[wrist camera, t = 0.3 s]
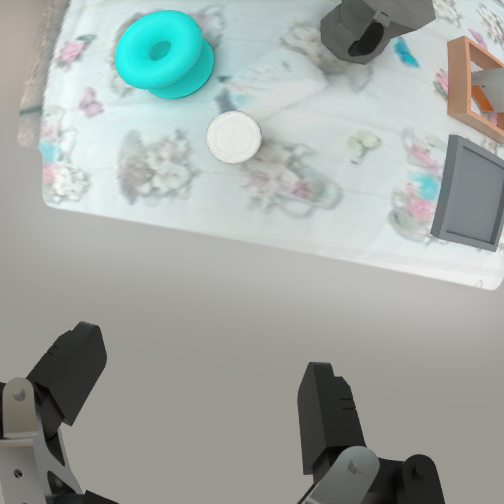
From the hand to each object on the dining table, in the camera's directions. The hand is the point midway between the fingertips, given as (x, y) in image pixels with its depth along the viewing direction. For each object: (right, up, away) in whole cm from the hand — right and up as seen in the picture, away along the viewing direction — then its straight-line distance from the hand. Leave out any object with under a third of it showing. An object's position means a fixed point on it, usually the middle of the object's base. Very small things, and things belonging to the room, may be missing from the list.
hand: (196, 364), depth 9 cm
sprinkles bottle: (+1, +18, +24) cm, 30 cm away
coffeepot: (+15, +32, +18) cm, 40 cm away
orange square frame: (+39, +30, +17) cm, 52 cm away
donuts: (-8, +29, +20) cm, 36 cm away
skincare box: (+39, +30, +18) cm, 52 cm away
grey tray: (+39, +13, +24) cm, 48 cm away
